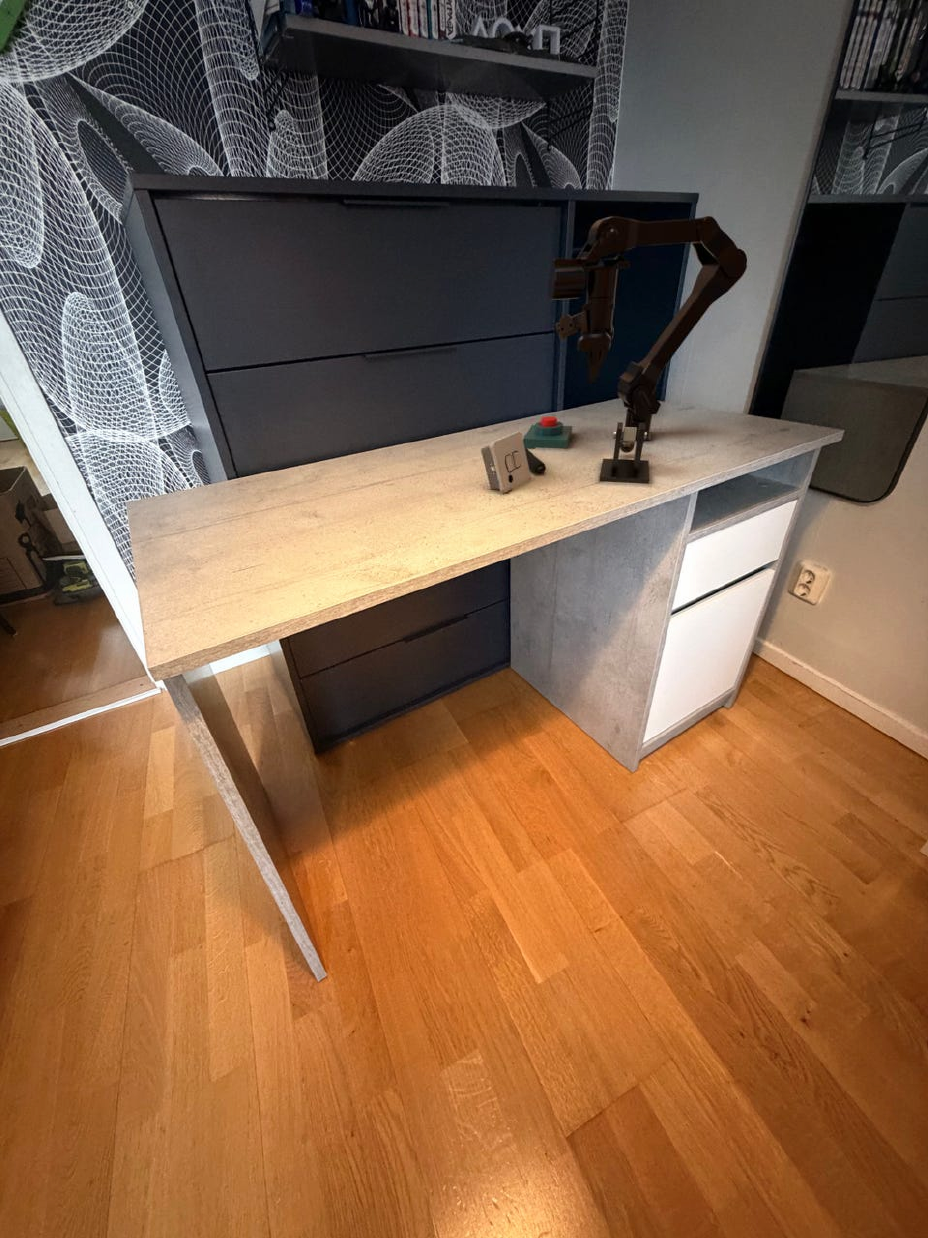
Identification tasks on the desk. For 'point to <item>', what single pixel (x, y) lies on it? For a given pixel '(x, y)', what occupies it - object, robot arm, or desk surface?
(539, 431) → the button block
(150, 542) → the desk surface
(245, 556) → the desk surface
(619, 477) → the bracket
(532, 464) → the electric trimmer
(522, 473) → the electrical switch
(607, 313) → the robot arm
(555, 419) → the button
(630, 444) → the lever
